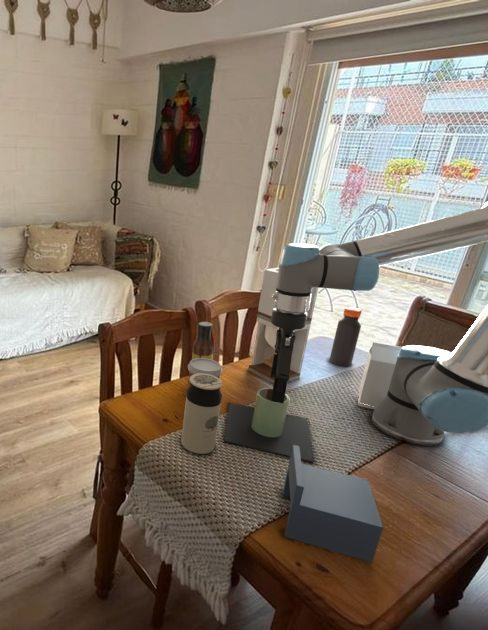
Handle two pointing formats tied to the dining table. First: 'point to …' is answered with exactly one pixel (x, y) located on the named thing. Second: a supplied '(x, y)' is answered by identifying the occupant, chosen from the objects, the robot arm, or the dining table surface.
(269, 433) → the cup
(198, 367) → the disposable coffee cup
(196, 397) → the travel mug
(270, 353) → the white dispenser tower
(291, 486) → the blue l-shaped block
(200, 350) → the sauce bottle
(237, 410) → the mat
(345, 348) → the vinegar
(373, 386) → the milk carton
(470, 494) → the dining table surface
